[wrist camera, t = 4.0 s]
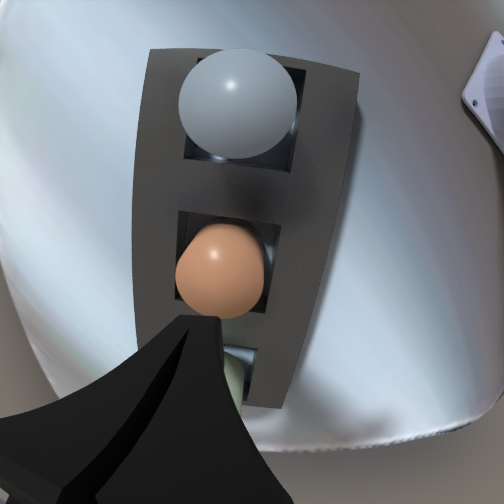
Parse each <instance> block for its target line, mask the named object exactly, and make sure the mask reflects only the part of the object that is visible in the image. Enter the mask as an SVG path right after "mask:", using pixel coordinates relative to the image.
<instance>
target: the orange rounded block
mask: <svg viewBox="0 0 504 504" xmlns="http://www.w3.org/2000/svg"><path fill="white" fill-rule="evenodd" d="M175 278H176V285H177V288H178V291H179V293H180V295H181V297H182V298H183V300H184V301H185V302H186V303H187V304H188V305H189V306H190V307H191V308H192V309H194V310H195V311H197V312H198V313H200V314H202V315H205V316H218V317H219V318H220V319H229V318H234V317H237V316H240V315H242V314H244V313H246V312H248V311H249V310H250V309H251V308H252V307H254V305H255V304H256V303H257V302H258V300H259V298H260V296H261V294H262V290H263V282H264V249H263V244H262V241H261V239H260V237H259V235H258V234H257V233H256V231H255V230H254V229H253V228H252V227H250V226H249V225H248V224H246V223H244V222H242V221H240V220H237V219H232V218H221V219H216V220H213V221H211V222H209V223H207V224H206V225H204V226H203V227H202V228H201V229H200V230H199V232H198V233H197V234H196V236H195V237H194V239H193V240H192V242H191V243H190V245H189V246H188V247H187V249H186V250H185V252H184V253H183V255H182V256H181V258H180V260H179V262H178V264H177V267H176V274H175Z"/></svg>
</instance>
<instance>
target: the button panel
mask: <svg viewBox="0 0 504 504" xmlns="http://www.w3.org/2000/svg"><path fill="white" fill-rule="evenodd" d="M219 51H222V50H221V49H195V48H172V49H150V52H149V57H148V63H147V68H146V74H145V79H144V85H143V92H142V99H141V106H140V113H139V121H138V130H137V139H136V150H135V162H134V177H133V197H132V277H133V297H134V312H135V325H136V335H137V345H138V350H140V349H141V348H142V347H143V346H144V345H145V344H147V343H148V342H149V341H150V340H151V339H152V338H154V337H155V336H156V335H157V334H158V333H159V332H160V331H161V330H163V329H164V328H165V327H166V326H167V325H168V324H169V323H170V322H172V321H173V320H174V319H175V318H176V317H177V316H178V315H180V314H182V315H201V316H205V315H202V314H200V313H198V312H197V311H195V310H194V309H192V308H191V307H190V306H189V305H188V304H187V303H186V302H185V301H184V300H183V298H182V297H181V295H180V293H179V291H178V288H177V285H176V278H175V274H176V267H177V264H178V262H179V260H180V258H181V256H182V255H183V253H184V252H185V242H186V227H187V214H188V212H194V213H202V214H209V215H217V216H224V217H231V218H238V219H245V220H252V221H259V222H265V223H272V224H278V228H277V233H276V239H275V245H274V250H273V256H272V261H271V267H270V272H269V278H268V283H267V289H266V294H265V296H264V295H261V296H260V298H259V300H258V302H257V303H256V304H255V305H254V307H252V308H251V309H250V310H249V311H248V312H246V313H244V314H242V315H240V316H237V317H234V318H229V319H221V323H222V336H223V344H229V345H235V346H242V347H250V348H255V351H254V356H253V361H252V366H251V371H250V376H249V381H244V385H243V396H242V405H248V406H257V407H267V408H278V409H281V408H282V405H283V402H284V399H285V396H286V393H287V391H288V388H289V385H290V382H291V379H292V376H293V373H294V369H295V366H296V363H297V360H298V357H299V354H300V351H301V347H302V344H303V341H304V337H305V334H306V331H307V327H308V324H309V320H310V317H311V313H312V310H313V306H314V303H315V299H316V295H317V292H318V288H319V284H320V280H321V277H322V273H323V269H324V265H325V261H326V257H327V253H328V248H329V244H330V240H331V236H332V231H333V227H334V222H335V218H336V213H337V209H338V204H339V199H340V194H341V189H342V184H343V179H344V174H345V169H346V163H347V158H348V152H349V146H350V140H351V134H352V128H353V121H354V114H355V107H356V100H357V93H358V85H359V77H360V73H357V72H354V71H350V70H346V69H342V68H339V67H334V66H330V65H326V64H322V63H317V62H312V61H307V60H302V59H297V58H291V57H285V56H278V55H271V54H266V55H268V56H270V57H272V58H273V59H275V60H276V61H277V62H278V63H280V64H281V65H282V66H283V68H284V69H285V70H286V71H287V73H288V74H289V76H290V77H294V78H300V79H301V85H300V92H299V98H298V105H297V112H296V118H295V125H294V131H293V137H292V144H291V150H290V156H289V162H288V169H283V168H277V167H270V166H264V165H257V164H250V163H243V162H235V161H227V160H219V159H210V158H200V157H193V153H194V145H195V142H194V141H193V140H192V139H191V138H190V137H189V135H188V134H187V132H186V131H185V129H184V127H183V125H182V122H181V119H180V114H179V95H180V91H181V88H182V85H183V83H184V81H185V79H186V77H187V76H188V74H189V73H190V71H191V70H192V69H193V68H194V67H195V66H196V65H197V64H198V63H199V62H200V61H202V60H203V59H205V58H206V57H208V56H210V55H212V54H214V53H216V52H219Z"/></svg>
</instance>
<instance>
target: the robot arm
mask: <svg viewBox="0 0 504 504" xmlns="http://www.w3.org/2000/svg"><path fill="white" fill-rule="evenodd" d="M462 100H463V102H464V103H465V104H466V106H467V107H468V108H469V109H470V110H471V112H472V113H473V114H474V115H475V117H476V118H477V119H478V120H479V122H480V123H481V124H482V125H483V127H484V128H485V129H486V131H487V132H488V133H489V135H490V136H491V137H492V139H493V140H494V142H495V143H496V144H497V146H498V147H499V149H500V150H501V152H502V153H503V155H504V38H503V37H502V35H501V34H500V33H499V32H497V31H495V32H493V33H492V35H491V37H490V39H489V41H488V43H487V46H486V48H485V50H484V52H483V54H482V56H481V58H480V60H479V62H478V64H477V66H476V68H475V70H474V72H473V74H472V76H471V78H470V79H469V81H468V83H467V85H466V87H465V89H464V91H463V92H462ZM473 102H474V104H475V106H473ZM224 364H225V361H224V349H223V336H222V323H221V319H220V318H219V317H218V316H201V315H182V314H180V315H178V316H177V317H176V318H175V319H174V320H173V321H172V322H170V323H169V324H168V325H167V326H166V327H165V328H164V329H163V330H161V331H160V332H159V333H158V334H157V335H156V336H155V337H154V338H152V339H151V340H150V341H149V342H148V343H147V344H145V345H144V346H143V347H142V348H141V349H140V350H138V351H137V352H136V353H134V354H133V355H132V356H130V357H129V358H128V359H127V360H125V361H124V362H123V363H121V364H120V365H119V366H117V367H116V368H115V369H113V370H112V371H110V372H109V373H107V374H106V375H104V376H103V377H101V378H99V379H98V380H96V381H94V382H93V383H91V384H89V385H88V386H86V387H84V388H82V389H80V390H78V391H76V392H74V393H72V394H70V395H68V396H66V397H64V398H62V399H60V400H57V401H55V402H53V403H50V404H48V405H45V406H42V407H40V408H37V409H34V410H31V411H28V412H24V413H21V414H17V415H13V416H9V417H5V418H0V488H2V489H3V490H4V491H5V492H6V493H8V494H9V497H8V499H7V502H6V501H4V500H3V499H1V498H0V504H294V503H293V500H292V498H291V497H290V495H289V494H288V493H287V492H286V490H285V489H284V488H283V487H282V485H281V484H280V483H279V481H278V480H277V478H276V477H275V476H274V474H273V473H272V471H271V470H270V468H269V467H268V466H267V464H266V462H265V461H264V459H263V458H262V456H261V454H260V453H259V451H258V449H257V448H256V446H255V444H254V442H253V440H252V438H251V437H250V435H249V433H248V431H247V429H246V427H245V425H244V423H243V421H242V419H241V417H240V414H239V412H238V410H237V408H236V405H235V403H234V400H233V397H232V395H231V392H230V389H229V386H228V383H227V380H226V376H225V372H224Z"/></svg>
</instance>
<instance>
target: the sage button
mask: <svg viewBox="0 0 504 504" xmlns="http://www.w3.org/2000/svg"><path fill="white" fill-rule="evenodd" d="M224 361H225V364H224V372H225V376H226V380H227V383H228V386H229V389H230V392H231V395H232V397H233V400H234V403H235V405H236V408H237V410H238V412H239V414H240V417H241V407H242V396H243V385H244V368H243V366H242V364H241V363H240V362H239V360H238V359H236V358H235V357H234V356H233V355H231V354H229V353H227V352H225V351H224Z"/></svg>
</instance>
